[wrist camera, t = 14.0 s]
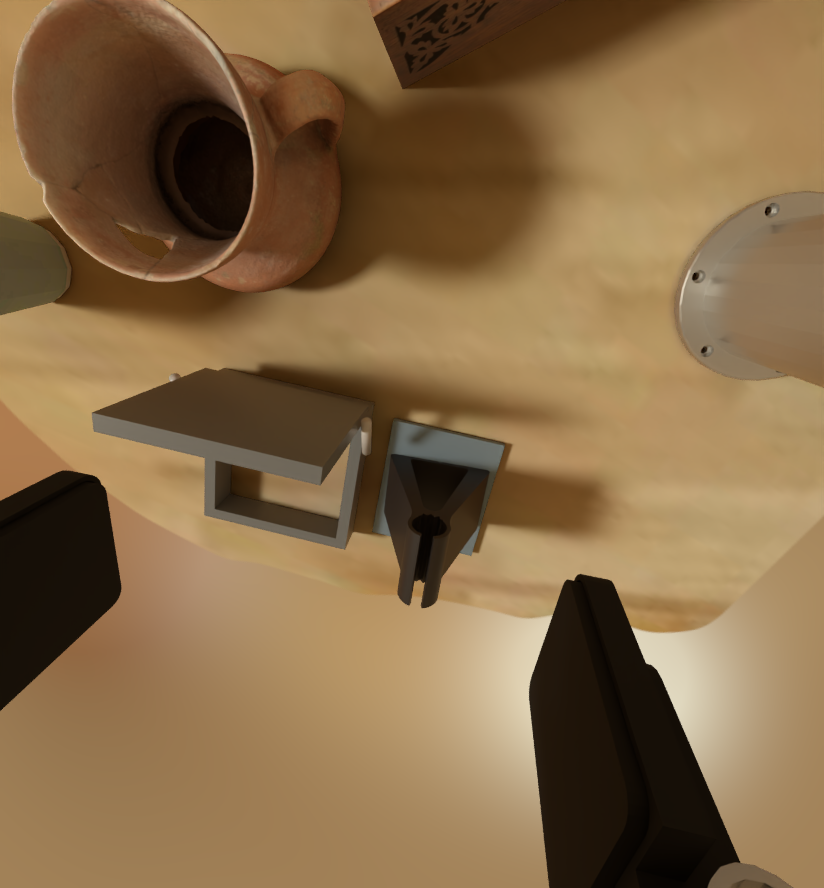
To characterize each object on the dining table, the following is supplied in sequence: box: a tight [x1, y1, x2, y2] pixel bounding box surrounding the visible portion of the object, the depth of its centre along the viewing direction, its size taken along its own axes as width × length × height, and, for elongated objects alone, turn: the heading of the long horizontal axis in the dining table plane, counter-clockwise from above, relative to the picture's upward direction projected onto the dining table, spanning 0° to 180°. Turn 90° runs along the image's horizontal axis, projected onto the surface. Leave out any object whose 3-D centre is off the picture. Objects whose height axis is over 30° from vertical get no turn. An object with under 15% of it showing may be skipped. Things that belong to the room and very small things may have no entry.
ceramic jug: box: [12, 0, 345, 292], centre depth 28 cm, size 18×14×14 cm
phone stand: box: [384, 454, 490, 608], centre depth 36 cm, size 9×6×12 cm, turn 82°
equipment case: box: [92, 368, 374, 550], centre depth 35 cm, size 16×15×15 cm
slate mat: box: [372, 418, 505, 556], centre depth 42 cm, size 10×12×1 cm
